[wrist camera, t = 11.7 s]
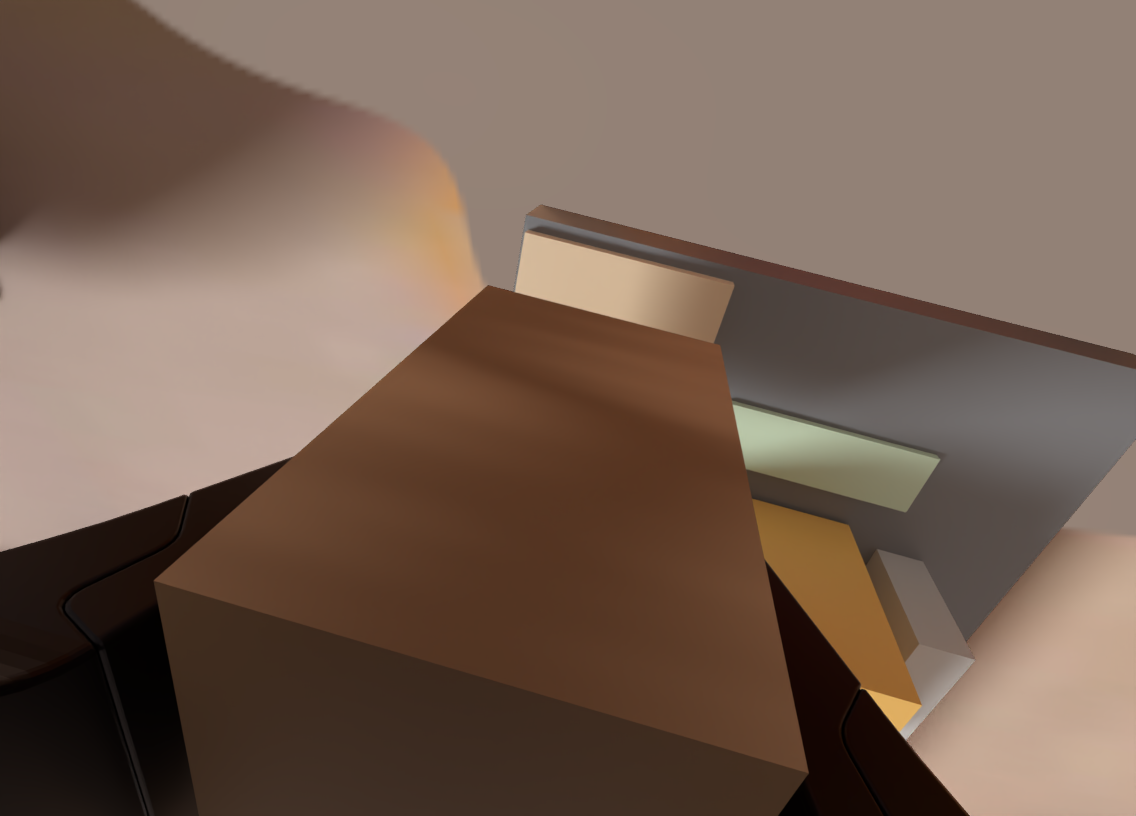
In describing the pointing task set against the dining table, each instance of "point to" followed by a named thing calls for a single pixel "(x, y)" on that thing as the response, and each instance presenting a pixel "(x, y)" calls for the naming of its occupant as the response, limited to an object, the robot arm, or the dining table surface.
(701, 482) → the walnut block
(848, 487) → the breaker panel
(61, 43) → the dining table surface
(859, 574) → the knob
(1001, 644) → the dining table surface
